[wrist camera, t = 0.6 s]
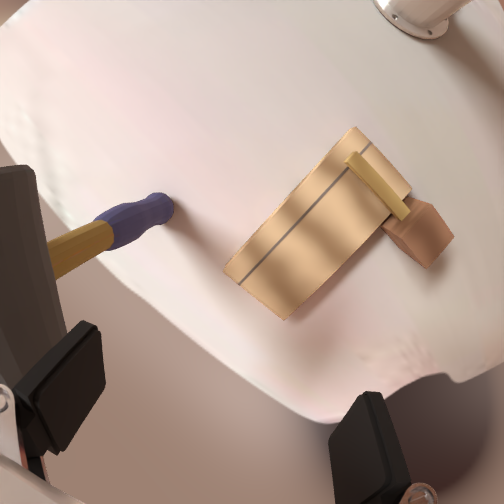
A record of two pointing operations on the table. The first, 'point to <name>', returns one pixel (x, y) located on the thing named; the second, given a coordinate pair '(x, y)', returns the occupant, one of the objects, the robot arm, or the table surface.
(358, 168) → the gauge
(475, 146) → the table surface
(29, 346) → the rubber mallet
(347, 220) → the board
